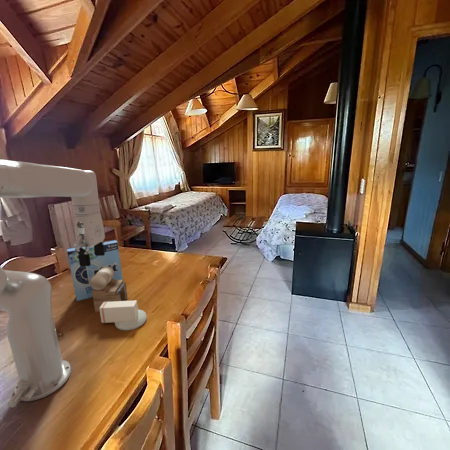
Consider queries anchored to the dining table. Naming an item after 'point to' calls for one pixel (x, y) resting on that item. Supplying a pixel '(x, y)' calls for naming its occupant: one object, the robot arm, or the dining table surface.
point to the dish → (132, 322)
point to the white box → (119, 311)
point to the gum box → (93, 267)
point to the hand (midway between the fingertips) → (93, 260)
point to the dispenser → (107, 288)
